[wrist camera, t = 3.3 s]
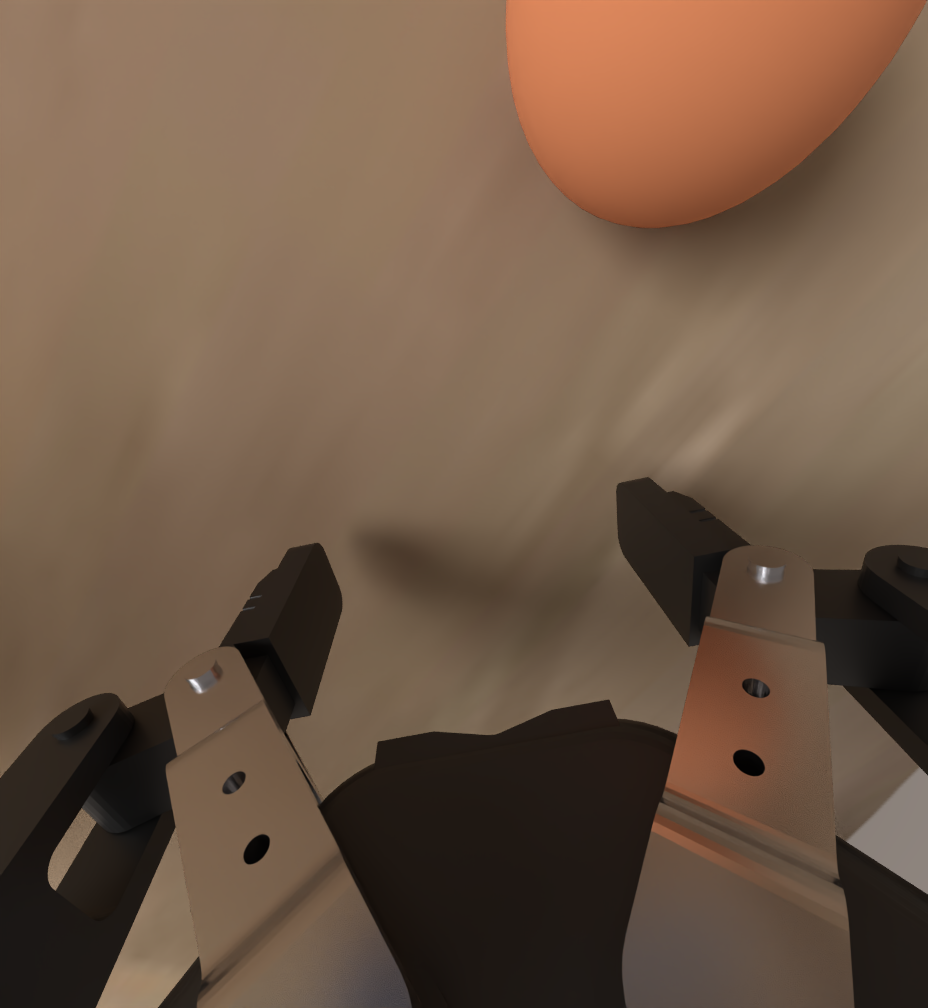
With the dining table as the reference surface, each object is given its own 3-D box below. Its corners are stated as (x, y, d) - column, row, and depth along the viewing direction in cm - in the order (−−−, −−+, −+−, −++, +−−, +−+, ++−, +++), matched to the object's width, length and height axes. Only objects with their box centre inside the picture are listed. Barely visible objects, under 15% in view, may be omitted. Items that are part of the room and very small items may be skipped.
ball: (508, 267, 10) (580, 241, 5) (462, -81, 8) (512, -781, 3) (744, 214, 10) (1055, 133, 5) (774, -161, 7) (1457, -1077, 2)
